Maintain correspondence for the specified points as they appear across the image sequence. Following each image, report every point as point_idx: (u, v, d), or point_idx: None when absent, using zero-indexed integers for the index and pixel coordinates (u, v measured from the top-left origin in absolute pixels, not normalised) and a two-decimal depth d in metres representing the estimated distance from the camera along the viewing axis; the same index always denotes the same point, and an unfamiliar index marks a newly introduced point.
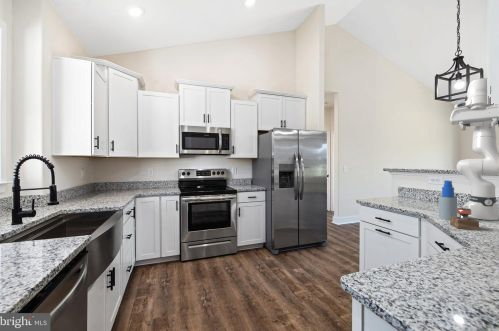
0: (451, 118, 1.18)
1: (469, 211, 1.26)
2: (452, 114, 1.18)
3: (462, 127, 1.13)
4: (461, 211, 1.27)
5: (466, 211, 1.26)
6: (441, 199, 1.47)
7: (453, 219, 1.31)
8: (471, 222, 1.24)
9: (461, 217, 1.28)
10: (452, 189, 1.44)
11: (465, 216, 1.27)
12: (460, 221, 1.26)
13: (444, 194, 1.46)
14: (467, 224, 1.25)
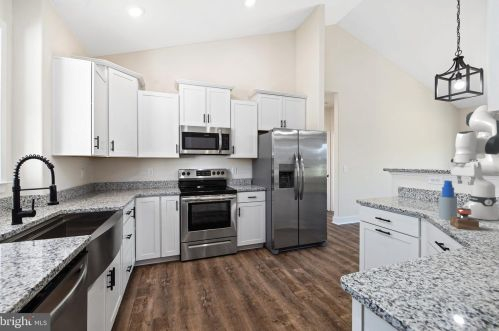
0: None
1: (469, 211, 1.26)
2: (450, 168, 1.36)
3: (457, 182, 1.31)
4: (461, 211, 1.27)
5: (466, 211, 1.26)
6: (441, 199, 1.47)
7: (453, 219, 1.31)
8: (471, 222, 1.24)
9: (461, 217, 1.28)
10: (452, 189, 1.44)
11: (465, 216, 1.27)
12: (460, 221, 1.26)
13: (444, 194, 1.46)
14: (467, 224, 1.25)
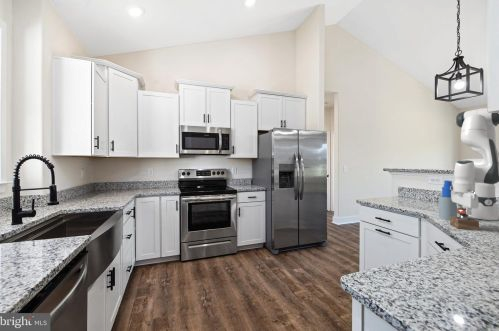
0: (451, 198, 1.38)
1: None
2: (451, 195, 1.38)
3: None
4: (461, 211, 1.27)
5: None
6: (441, 199, 1.47)
7: (453, 219, 1.31)
8: (471, 222, 1.24)
9: (461, 217, 1.28)
10: None
11: (465, 216, 1.27)
12: (460, 221, 1.26)
13: (444, 194, 1.46)
14: (467, 224, 1.25)
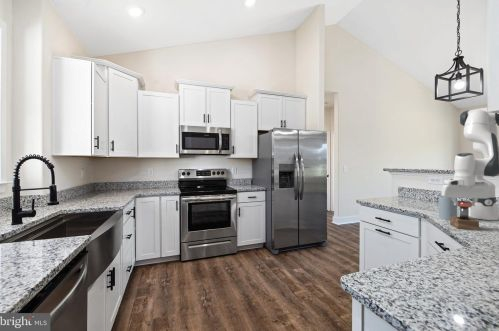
0: (445, 194, 1.30)
1: None
2: (446, 190, 1.29)
3: (456, 204, 1.29)
4: (471, 204, 1.26)
5: None
6: (441, 199, 1.47)
7: (453, 219, 1.31)
8: (471, 222, 1.24)
9: (467, 210, 1.27)
10: None
11: None
12: (460, 221, 1.26)
13: None
14: (467, 224, 1.25)
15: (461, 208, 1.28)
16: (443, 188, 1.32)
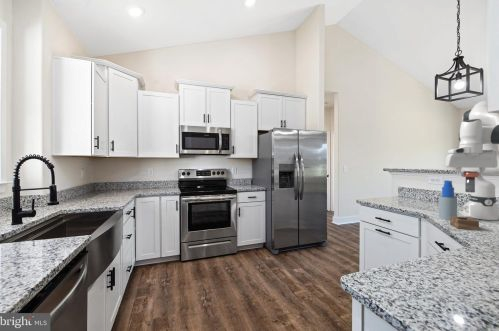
0: (450, 164, 1.20)
1: None
2: (451, 159, 1.19)
3: (461, 174, 1.19)
4: (477, 174, 1.16)
5: None
6: (441, 199, 1.47)
7: (453, 219, 1.31)
8: (471, 222, 1.24)
9: (474, 181, 1.17)
10: (452, 189, 1.44)
11: None
12: (460, 221, 1.26)
13: (444, 194, 1.46)
14: (467, 224, 1.25)
15: (467, 179, 1.18)
16: (447, 158, 1.22)
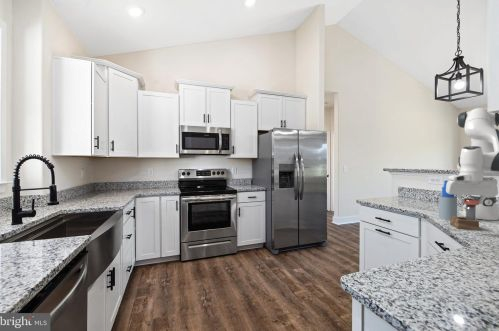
0: (450, 191, 1.19)
1: None
2: (451, 187, 1.19)
3: (462, 201, 1.18)
4: (478, 202, 1.15)
5: None
6: (441, 199, 1.47)
7: (453, 219, 1.31)
8: (471, 222, 1.24)
9: (474, 208, 1.16)
10: None
11: None
12: (460, 221, 1.26)
13: (444, 194, 1.46)
14: (467, 224, 1.25)
15: (467, 206, 1.18)
16: (448, 184, 1.21)
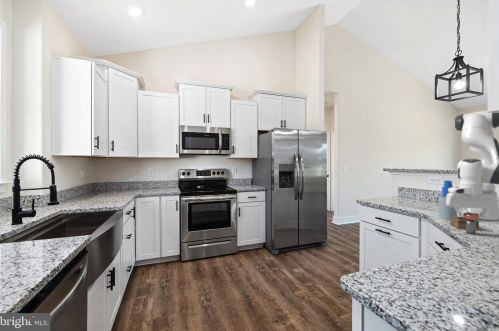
0: (450, 203, 1.19)
1: None
2: (451, 199, 1.19)
3: (459, 214, 1.19)
4: (478, 216, 1.15)
5: None
6: (441, 199, 1.47)
7: (453, 219, 1.31)
8: None
9: (474, 223, 1.16)
10: None
11: None
12: (460, 221, 1.26)
13: (444, 194, 1.46)
14: None
15: (467, 221, 1.18)
16: (448, 197, 1.21)
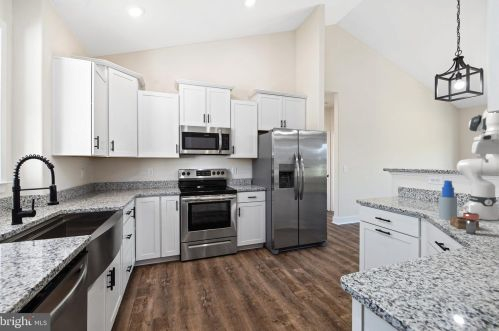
0: (476, 151, 1.22)
1: None
2: (477, 146, 1.21)
3: (485, 161, 1.21)
4: (478, 216, 1.15)
5: None
6: (441, 199, 1.47)
7: (453, 219, 1.31)
8: None
9: (474, 223, 1.16)
10: (452, 189, 1.44)
11: None
12: (460, 221, 1.26)
13: (444, 194, 1.46)
14: None
15: (467, 220, 1.18)
16: (474, 145, 1.24)
